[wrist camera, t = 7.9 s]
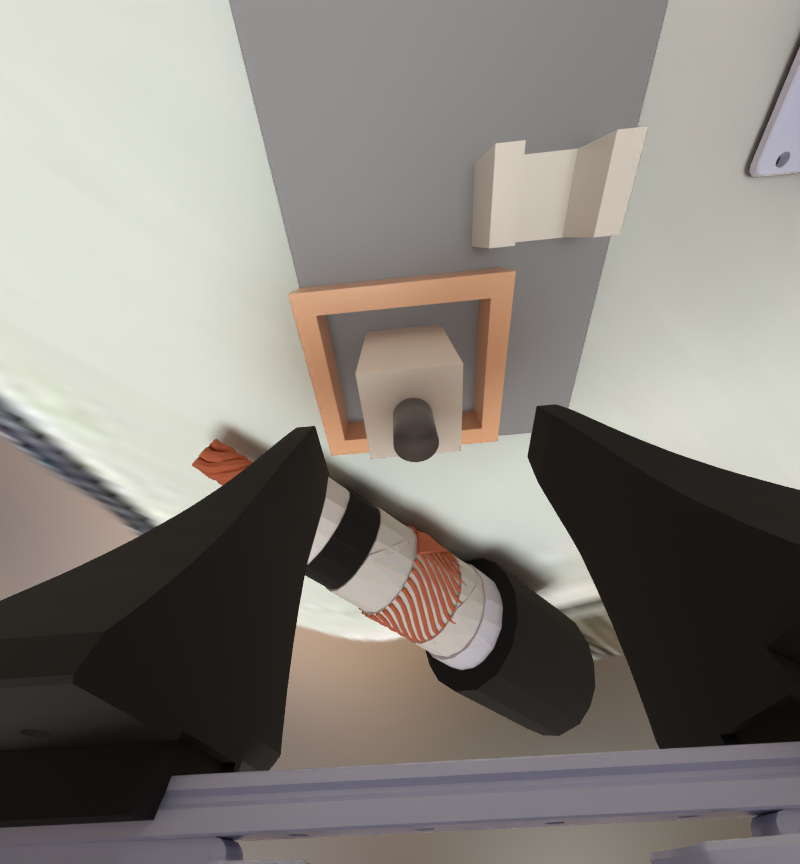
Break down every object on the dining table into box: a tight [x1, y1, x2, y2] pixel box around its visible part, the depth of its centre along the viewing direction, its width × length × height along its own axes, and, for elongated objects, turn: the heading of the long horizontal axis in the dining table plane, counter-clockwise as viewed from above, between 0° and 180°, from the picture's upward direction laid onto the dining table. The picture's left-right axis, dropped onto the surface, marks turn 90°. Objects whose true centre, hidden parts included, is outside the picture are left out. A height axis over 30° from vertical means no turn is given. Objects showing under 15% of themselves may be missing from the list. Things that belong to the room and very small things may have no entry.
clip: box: [472, 126, 648, 248], centre depth 12 cm, size 5×3×3 cm, turn 95°
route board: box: [229, 0, 668, 435], centre depth 14 cm, size 15×24×1 cm, turn 5°
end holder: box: [288, 267, 516, 456], centre depth 16 cm, size 10×9×2 cm
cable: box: [192, 439, 595, 736], centre depth 24 cm, size 10×34×10 cm, turn 46°
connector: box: [355, 324, 463, 462], centre depth 14 cm, size 4×4×8 cm
